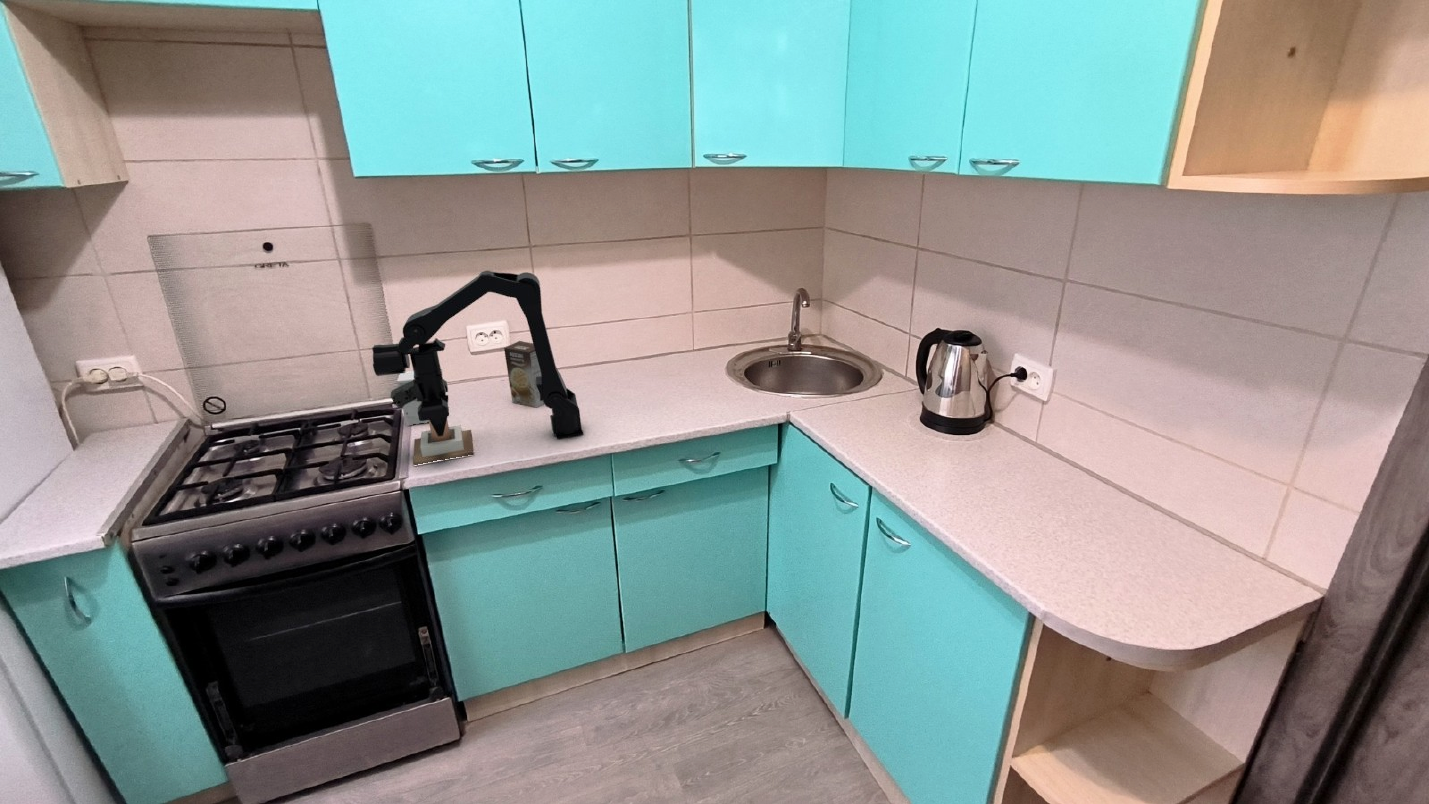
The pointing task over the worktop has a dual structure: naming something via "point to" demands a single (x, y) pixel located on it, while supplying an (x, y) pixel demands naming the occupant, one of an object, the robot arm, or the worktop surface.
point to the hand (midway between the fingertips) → (440, 432)
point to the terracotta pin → (440, 438)
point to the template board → (442, 446)
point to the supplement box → (411, 407)
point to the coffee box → (523, 373)
